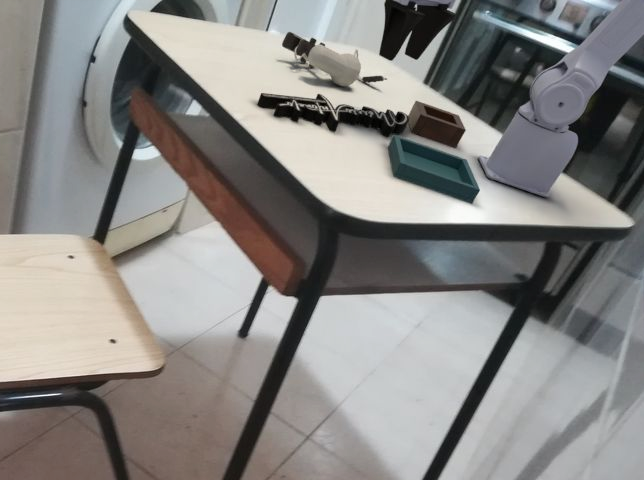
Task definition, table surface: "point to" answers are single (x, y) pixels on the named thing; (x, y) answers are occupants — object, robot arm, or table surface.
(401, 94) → the table surface
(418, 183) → the holder
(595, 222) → the table surface
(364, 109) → the nameplate
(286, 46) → the clip-on lamp
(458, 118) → the frame
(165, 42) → the table surface
